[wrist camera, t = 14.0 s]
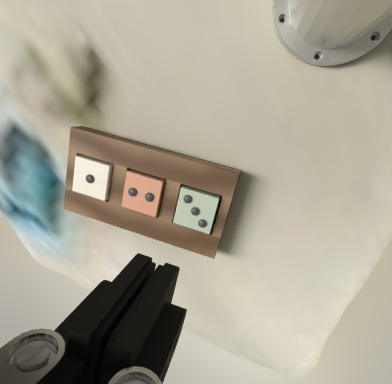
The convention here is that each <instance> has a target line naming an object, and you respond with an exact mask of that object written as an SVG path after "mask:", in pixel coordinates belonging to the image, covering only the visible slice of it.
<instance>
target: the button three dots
mask: <svg viewBox="0 0 392 384" xmlns="http://www.w3.org/2000/svg"><path fill="white" fill-rule="evenodd" d="M220 199H221V195H218V194H214V193H211V192H208V191H204V190H201V189H197V188H194V187H191V186H187V185H183V186H182V187H181V190H180V194H179V198H178V203H177V207H176V212H175V216H174V220H173V223H176V224H179V225H182V226H185V227H188V228H191V229H194V230H197V231H201V232H204V233H207V234H210V231H211V229H212V227H213V224H214V220H215V217H216V213H217V210H218V206H219V202H220Z"/></svg>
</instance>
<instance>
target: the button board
mask: <svg viewBox="0 0 392 384" xmlns="http://www.w3.org/2000/svg"><path fill="white" fill-rule="evenodd" d="M78 155H86V156H89V157H93V158H96V159H99V160H103V161H106V162H110V163H113V164H114V167H113V174H112V181H111V188H110V195H109V199H107V200H105V201H103V200H100V199H97V198H94V197H91V196H88V195H84V194H81V193H78V192H75V191H72V188H73V178H74V167H75V157H76V156H78ZM131 169H133V170H137V171H140V172H143V173H147V174H150V175H154V176H157V177H160V178H164V179H167V180H166V185H165V190H164V195H163V199H162V204H161V209H160V213H159V214H158V215H157V216H156V217H153V216H150V215H147V214H144V213H141V212H138V211H135V210H132V209H128V208H125V207H122V206H121V204H122V198H123V191H124V185H125V179H126V173H127V171H129V170H131ZM239 174H240V170H237V169H233V168H230V167H226V166H222V165H219V164H215V163H212V162H208V161H204V160H201V159H197V158H194V157H190V156H187V155H183V154H179V153H176V152H172V151H169V150H165V149H162V148H158V147H154V146H151V145H147V144H144V143H140V142H136V141H133V140H129V139H126V138H122V137H119V136H115V135H111V134H108V133H104V132H101V131H97V130H93V129H90V128H86V127H83V126H80V127H71V131H70V143H69V154H68V165H67V176H66V187H65V199H64V209H66V210H69V211H72V212H75V213H78V214H81V215H84V216H87V217H90V218H93V219H96V220H99V221H102V222H105V223H108V224H111V225H114V226H117V227H120V228H123V229H126V230H129V231H132V232H135V233H138V234H141V235H144V236H147V237H150V238H153V239H156V240H159V241H162V242H165V243H168V244H171V245H174V246H177V247H180V248H183V249H186V250H189V251H192V252H195V253H198V254H201V255H204V256H207V257H210V258H213V259H214V258H215V255H216V252H217V249H218V246H219V242H220V239H221V235H222V232H223V229H224V225H225V222H226V218H227V215H228V212H229V208H230V205H231V201H232V198H233V194H234V191H235V188H236V184H237V181H238V177H239ZM183 185H187V186H191V187H194V188H197V189H201V190H204V191H208V192H211V193H214V194H218V195H221V196H223V197H222V200H221V204H220V207H219V211H218V214H217V218H216V222H215V225H214V228H213V227H212V229H211V231H210V234H207V233H204V232H201V231H197V230H194V229H191V228H188V227H185V226H182V225H179V224H176V223H173V220H174V216H175V212H176V207H177V203H178V198H179V194H180V190H181V187H182V186H183Z"/></svg>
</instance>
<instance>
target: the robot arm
mask: <svg viewBox="0 0 392 384" xmlns="http://www.w3.org/2000/svg"><path fill="white" fill-rule="evenodd" d="M273 16H274V24H275V28H276V31H277V34H278V36H279V38H280V40H281V42H282V44H283V45H284V46H285V47H286V49H287V50H288V51H289V52H290V53H291V54H293V55H294V56H295V57H296V58H298V59H300V60H302V61H304V62H306V63H309V64H313V65H317V66H334V65H341V64H344V63H347V62H350V61H353V60H355V59H357V58H359V57H361V56H362V55H364V54H366V53H367V52H369V51H370V50H372V49H373V48H374V47H375V46H377V45H378V44H379V43H380V42H381V41H382V40H383V39H384V38H385V37H386V36H387V34H388V33H389V32H390V31H391V30H392V0H274V3H273ZM280 19H284V22H283V23H280ZM371 36H373V37H374V38H375V39H374V41H372V40H371ZM315 55H318V56H319V59H315ZM155 266H156V264H155V263H153V262H152V258H151V257H148V256H145V255H142V254H139V253H138V254H137V255H136V256H135V257H134V258H133V259H132V260H131V261H130V262H129V263H128V264H127V266H126V267H125V268H124V269H123V270H122V271H121V272H120V273H119V275H118V276H117V277H116V278H115V279H114V280H113V281H112V282H110V281H107V280H103V281H102V282H101V283H100V284H99V285H98V286H97V287H96V288H95V289H94V290H93V291H92V292H91V293H90V294H89V295H88V296H87V297H86V298H85V299H84V300H83V301H82V302H81V303H80V305H79V306H78V307H77V308H76V309H75V310H74V311H73V312H72V313H71V314H70V315H69V316H68V317H67V318H66V319H65V320H64V321H63V322H62V323H61V324H60V325H59V326H58V327H57V329H55V330H54V331H53V330H50V329H35V330H30V331H28V332H25V333H22V334H20V335H19V336H17V337H15V338H14V339H12V340H11V341H10V342H8V343H7V344H5V345H4V346H3V347H1V348H0V384H163V381H164V378H165V375H166V373H167V370H168V367H169V364H170V362H171V359H172V356H173V353H174V351H175V348H176V345H177V342H178V339H179V336H180V333H181V330H182V326H183V323H184V319H185V315H186V311H187V309H184V308H181V307H179V306H176V305H173V304H171V302H172V298H173V294H174V290H175V286H176V282H177V278H178V274H179V269H180V268H179V267H177V266H174V265H171V264H168V263H165V264H164V266H162V265H158V267H157V268H156V270H155Z"/></svg>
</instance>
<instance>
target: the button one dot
mask: <svg viewBox="0 0 392 384" xmlns="http://www.w3.org/2000/svg"><path fill="white" fill-rule="evenodd" d="M113 167H114V164H113V163H110V162H106V161H103V160H99V159H96V158H93V157H89V156H86V155H78V156H76V157H75V167H74V178H73V188H72V191H75V192H78V193H81V194H84V195H88V196H91V197H94V198H97V199H100V200H103V201H105V200H107V199H109V195H110V188H111V181H112V174H113Z"/></svg>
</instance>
